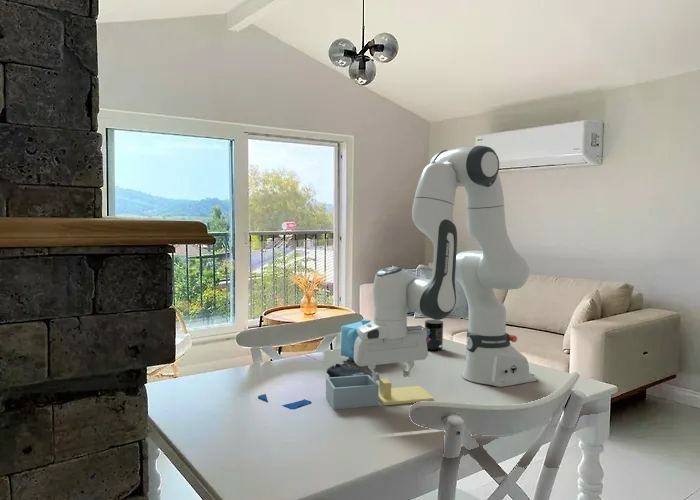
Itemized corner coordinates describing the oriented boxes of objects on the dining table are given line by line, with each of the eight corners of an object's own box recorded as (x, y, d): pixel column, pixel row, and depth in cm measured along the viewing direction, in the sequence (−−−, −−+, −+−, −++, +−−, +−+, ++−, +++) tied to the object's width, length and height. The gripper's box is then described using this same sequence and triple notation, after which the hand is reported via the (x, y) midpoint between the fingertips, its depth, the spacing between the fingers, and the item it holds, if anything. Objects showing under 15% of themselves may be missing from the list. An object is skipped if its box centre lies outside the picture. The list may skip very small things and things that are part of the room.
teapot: (361, 368, 174) (361, 326, 173) (335, 362, 181) (335, 321, 180) (399, 354, 191) (400, 316, 190) (374, 349, 198) (374, 312, 197)
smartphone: (277, 390, 151) (313, 402, 141) (277, 393, 151) (313, 405, 141) (256, 396, 146) (292, 409, 136) (256, 400, 146) (292, 413, 136)
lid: (419, 392, 152) (419, 372, 152) (433, 404, 143) (434, 383, 142) (372, 396, 149) (372, 375, 148) (383, 409, 139) (384, 387, 139)
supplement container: (429, 346, 203) (429, 319, 203) (445, 348, 200) (446, 321, 199) (421, 350, 198) (421, 322, 197) (438, 352, 194) (438, 324, 193)
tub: (368, 396, 148) (368, 374, 148) (378, 407, 139) (378, 385, 139) (325, 399, 145) (326, 377, 145) (333, 411, 136) (333, 388, 136)
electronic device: (324, 382, 165) (356, 388, 153) (324, 364, 165) (356, 368, 154) (347, 380, 171) (380, 386, 159) (347, 362, 171) (380, 367, 160)
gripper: (422, 322, 149) (422, 370, 151) (351, 328, 144) (352, 378, 145) (431, 327, 143) (431, 377, 145) (357, 334, 138) (358, 386, 139)
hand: (391, 378), depth 145 cm, fingers open, 7 cm apart
